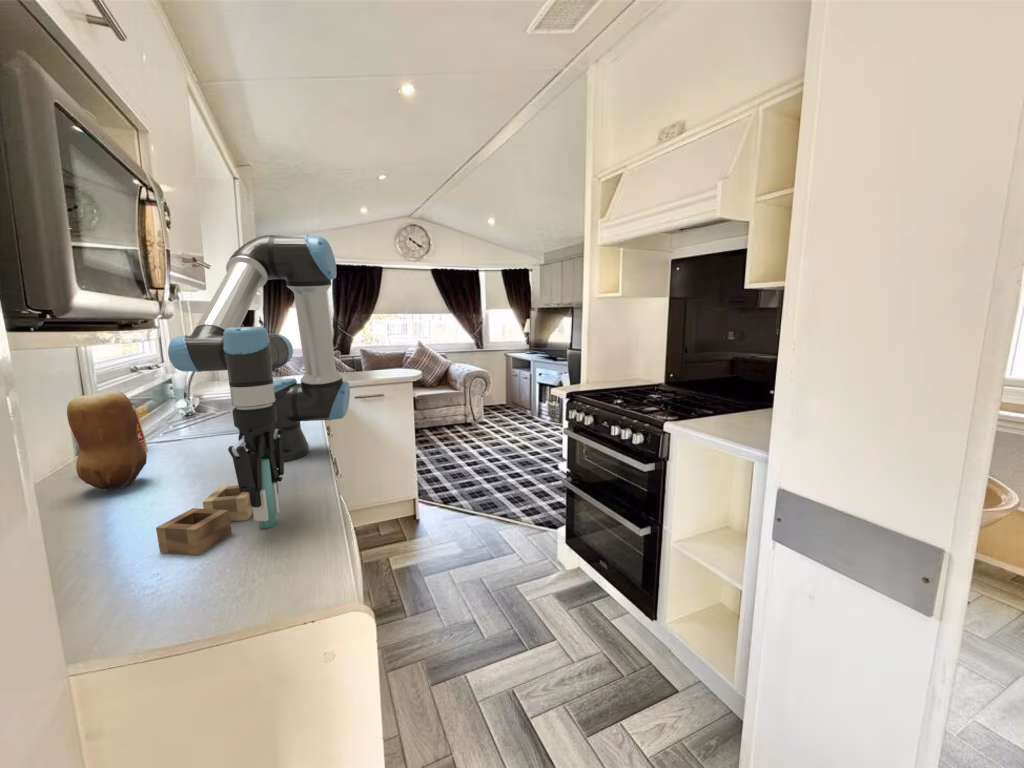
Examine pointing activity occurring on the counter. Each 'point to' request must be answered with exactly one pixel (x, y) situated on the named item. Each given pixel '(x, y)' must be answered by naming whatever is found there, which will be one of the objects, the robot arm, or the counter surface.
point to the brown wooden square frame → (193, 531)
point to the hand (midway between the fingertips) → (267, 515)
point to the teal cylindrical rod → (268, 494)
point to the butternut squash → (106, 440)
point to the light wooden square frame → (230, 502)
